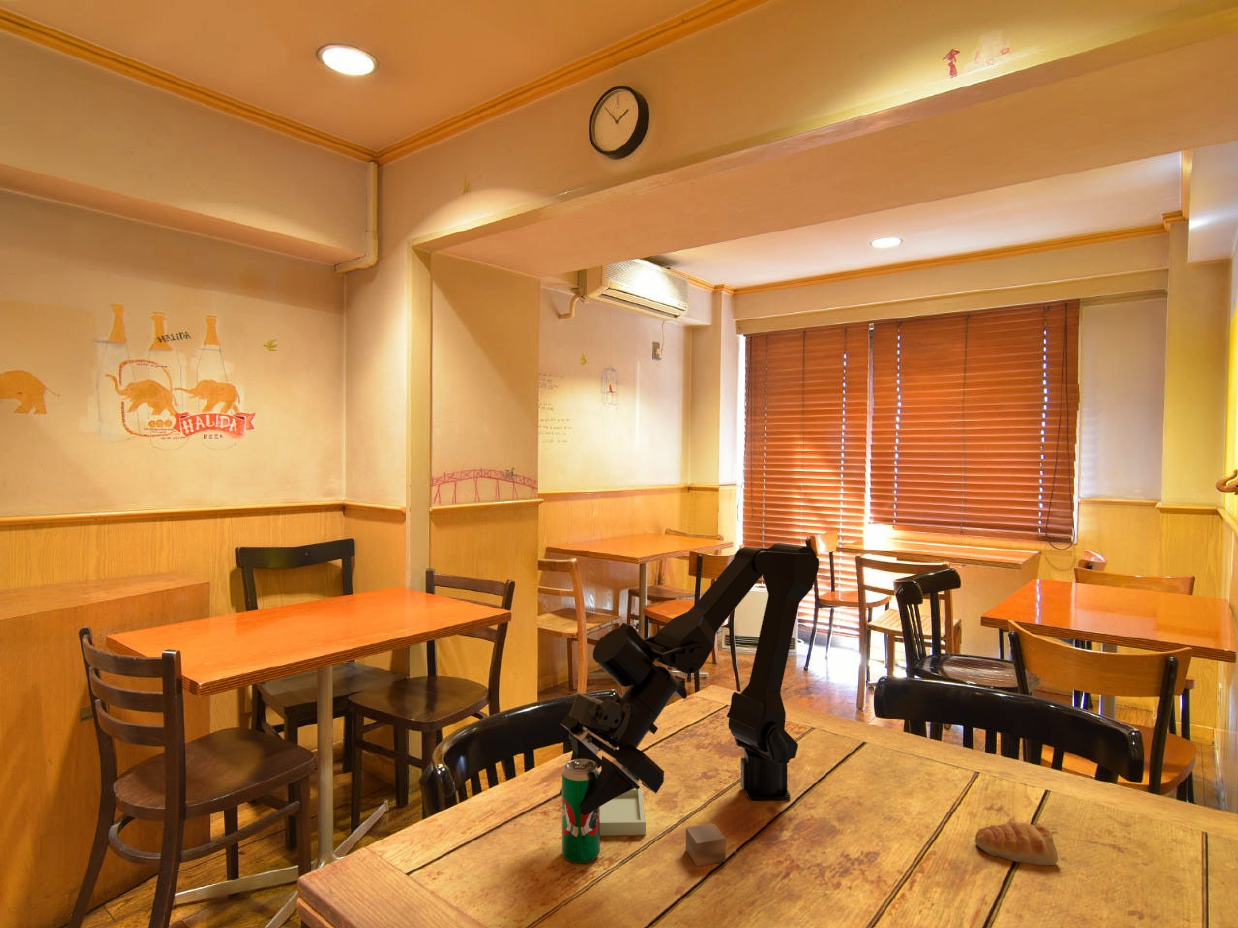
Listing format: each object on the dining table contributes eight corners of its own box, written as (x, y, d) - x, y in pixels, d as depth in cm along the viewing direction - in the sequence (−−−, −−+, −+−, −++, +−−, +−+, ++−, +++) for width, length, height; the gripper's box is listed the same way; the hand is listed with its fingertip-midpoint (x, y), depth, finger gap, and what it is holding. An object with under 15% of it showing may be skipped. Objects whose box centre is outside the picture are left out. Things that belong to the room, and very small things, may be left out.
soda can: (602, 845, 97) (601, 757, 97) (597, 866, 92) (597, 774, 92) (565, 843, 97) (565, 756, 97) (558, 864, 92) (558, 772, 92)
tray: (642, 799, 110) (642, 787, 110) (646, 834, 99) (646, 822, 99) (575, 799, 110) (575, 788, 110) (571, 835, 99) (571, 822, 99)
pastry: (984, 863, 93) (984, 834, 93) (968, 836, 99) (968, 809, 99) (1063, 869, 91) (1062, 840, 91) (1040, 842, 98) (1040, 814, 98)
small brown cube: (713, 845, 97) (713, 823, 97) (725, 861, 93) (725, 838, 93) (685, 849, 96) (685, 827, 96) (697, 866, 92) (697, 843, 92)
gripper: (572, 655, 104) (502, 747, 98) (644, 690, 88) (567, 801, 83) (617, 698, 109) (553, 789, 103) (694, 739, 93) (624, 848, 87)
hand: (571, 804), depth 94 cm, fingers closed on soda can, 5 cm apart
